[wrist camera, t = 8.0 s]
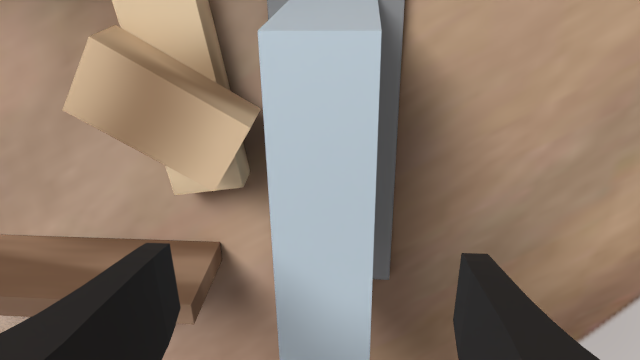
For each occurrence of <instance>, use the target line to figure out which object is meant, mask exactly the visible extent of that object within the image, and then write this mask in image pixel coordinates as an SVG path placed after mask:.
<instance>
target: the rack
mask: <svg viewBox="0 0 640 360" xmlns="http://www.w3.org/2000/svg"><path fill="white" fill-rule="evenodd" d="M145 243H170V248H171V254H172V260H173V266H174V271H175V277H176V283H177V289H178V295H179V301H180V307H181V309H180V312H179V315H178V318H177V322H176V324H194V323H195V321H196V319H197V316H198V314H199V312H200V309H201V307H202V305H203V303H204V300H205V298H206V296H207V293H208V291H209V289H210V286H211V284H212V282H213V279H214V277H215V275H216V273H217V270H218V268H219V266H220V263H221V261H222V255H221V247H220V242H199V241H169V240H139V239H110V238H80V237H51V236H21V235H0V315H3V316H24V317H32V316H34V315H36V314H38V313H39V312H41V311H43V310H44V309H46V308H48V307H49V306H51V305H52V304H54V303H56V302H57V301H59V300H60V299H62V298H64V297H65V296H67V295H68V294H70V293H72V292H73V291H75V290H76V289H78V288H80V287H81V286H83V285H84V284H86V283H87V282H88V281H90V280H91V279H93V278H94V277H96V276H97V275H99V274H100V273H102V272H103V271H105V270H106V269H108V268H109V267H110V266H112V265H113V264H115V263H116V262H118V261H119V260H120V259H122V258H123V257H125V256H126V255H128V254H129V253H131V252H132V251H134V250H135V249H137V248H138V247H140V246H142V245H143V244H145Z"/></svg>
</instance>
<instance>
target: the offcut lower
mask: <svg viewBox="0 0 640 360" xmlns="http://www.w3.org/2000/svg"><path fill="white" fill-rule="evenodd" d="M112 3H113V6H114V9H115V12H116V15H117V18H118V21H119V24H120V28H122V29H124V30H125V31H127V32H129V33H130V34H132V35H134V36H136V37H137V38H139V39H141V40H143V41H144V42H146V43H148V44H150V45H151V46H153V47H155V48H157V49H158V50H160V51H162V52H163V53H165V54H167V55H169V56H170V57H172V58H174V59H176V60H177V61H179V62H181V63H183V64H184V65H186V66H188V67H189V68H191V69H193V70H195V71H196V72H198V73H200V74H202V75H203V76H205V77H207V78H209V79H210V80H212V81H214V82H215V83H217V84H219V85H221V86H222V87H224V88H226V89H228V90H229V91H230V87H229V83H228V79H227V74H226V70H225V66H224V62H223V58H222V54H221V50H220V46H219V42H218V38H217V34H216V30H215V26H214V21H213V17H212V13H211V9H210V5H209V1H208V0H112ZM165 167H166V170H167V174H168V177H169V180H170V183H171V186H172V189H173V192H174V195H181V194H190V193H199V192H207V191H212V190H210V189H208V188H206V187H205V186H203V185H201V184H199V183H197V182H195V181H193V180H192V179H190V178H188V177H186V176H184V175H182V174H180V173H179V172H177V171H175V170H173V169H171V168H169V167H167V166H165ZM249 173H250V168H249V164H248V160H247V156H246V152H245V148H244V144H243V142H242V144H241V146H240V147H239V149H238V151H237V153H236V155H235V156H234V158H233V160H232V162H231V163H230V165H229V167H228V169H227V170H226V172H225V174H224V176H223V178H222V179H221V181H220V183H219V185H218V186H217V188H216V190H224V189H233V188H242V187H244V184H245V182H246V180H247V178H248V176H249ZM216 190H215V191H216Z"/></svg>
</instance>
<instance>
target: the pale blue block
mask: <svg viewBox="0 0 640 360" xmlns="http://www.w3.org/2000/svg"><path fill="white" fill-rule="evenodd" d="M381 33H382V30H381V22H380V14H379V6H378V0H289V1H288V2H287V3H286V4H284V5H283V6H282V7H281V8H280V9H279V10H278V11H277V12H276V13H275V14H274V15H273V16H272V17H271V18H270V19H269V20H268V21H267V22H266V23H265V24H264V25H263V26H262V27H261V28H260V29H259V30H258V43H259V58H260V73H261V88H262V103H263V117H264V132H265V147H266V162H267V177H268V192H269V207H270V222H271V237H272V251H273V266H274V281H275V296H276V311H277V326H278V341H279V356H280V360H370V333H371V306H372V278H373V251H374V224H375V197H376V169H377V142H378V115H379V88H380V61H381Z"/></svg>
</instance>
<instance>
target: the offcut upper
mask: <svg viewBox="0 0 640 360" xmlns="http://www.w3.org/2000/svg"><path fill="white" fill-rule="evenodd" d="M260 110H261V108H259V107H257V106H255V105H254V104H252V103H250V102H248V101H247V100H245V99H243V98H242V97H240V96H238V95H236V94H235V93H233V92H231V91H229V90H228V89H226V88H224V87H222V86H221V85H219V84H217V83H215V82H214V81H212V80H210V79H209V78H207V77H205V76H203V75H202V74H200V73H198V72H196V71H195V70H193V69H191V68H189V67H188V66H186V65H184V64H183V63H181V62H179V61H177V60H176V59H174V58H172V57H170V56H169V55H167V54H165V53H163V52H162V51H160V50H158V49H157V48H155V47H153V46H151V45H150V44H148V43H146V42H144V41H143V40H141V39H139V38H137V37H136V36H134V35H132V34H130V33H129V32H127V31H125V30H124V29H122V28H120V27H118V26H117V25H114V26H112V27H109V28H107V29H105V30H103V31H100V32H98V33H96V34H93V35H91V36H89V38H88V41H87V43H86V46H85V49H84V52H83V54H82V57H81V60H80V63H79V66H78V68H77V71H76V74H75V77H74V79H73V82H72V85H71V88H70V91H69V93H68V96H67V99H66V102H65V104H64V107H63V111H65V112H67V113H69V114H70V115H72V116H74V117H76V118H78V119H80V120H82V121H83V122H85V123H87V124H89V125H91V126H93V127H95V128H97V129H98V130H100V131H102V132H104V133H106V134H108V135H110V136H111V137H113V138H115V139H117V140H119V141H121V142H123V143H124V144H126V145H128V146H130V147H132V148H134V149H136V150H138V151H139V152H141V153H143V154H145V155H147V156H149V157H151V158H152V159H154V160H156V161H158V162H160V163H162V164H164V165H165V166H167V167H169V168H171V169H173V170H175V171H177V172H179V173H180V174H182V175H184V176H186V177H188V178H190V179H192V180H193V181H195V182H197V183H199V184H201V185H203V186H205V187H206V188H208V189H210V190H212V191H214V192H215V190H216V188H217V186H218V185H219V183H220V181H221V179H222V178H223V176H224V174H225V172H226V170H227V169H228V167H229V165H230V163H231V162H232V160H233V158H234V156H235V155H236V153H237V151H238V149H239V147H240V146H241V144H242V142H243V140H244V139H245V137H246V135H247V133H248V132H249V130H250V128H251V126H252V124H253V123H254V121H255V119H256V117H257V115H258V113H259V112H260Z"/></svg>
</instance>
